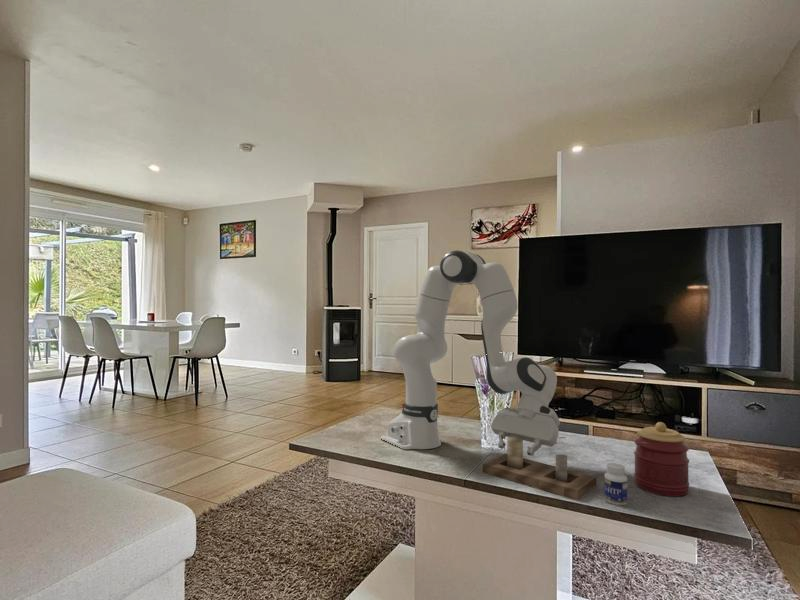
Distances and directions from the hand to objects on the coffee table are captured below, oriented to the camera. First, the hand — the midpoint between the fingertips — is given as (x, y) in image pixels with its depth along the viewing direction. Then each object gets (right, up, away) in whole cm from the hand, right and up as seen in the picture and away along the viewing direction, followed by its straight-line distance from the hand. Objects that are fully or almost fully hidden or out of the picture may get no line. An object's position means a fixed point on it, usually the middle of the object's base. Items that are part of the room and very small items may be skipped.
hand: (514, 450), depth 132 cm
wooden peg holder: (+5, -6, -5) cm, 9 cm away
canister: (+37, -7, -10) cm, 39 cm away
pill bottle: (+20, -6, -19) cm, 29 cm away
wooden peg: (0, -6, 0) cm, 6 cm away
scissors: (+18, -8, +38) cm, 43 cm away
